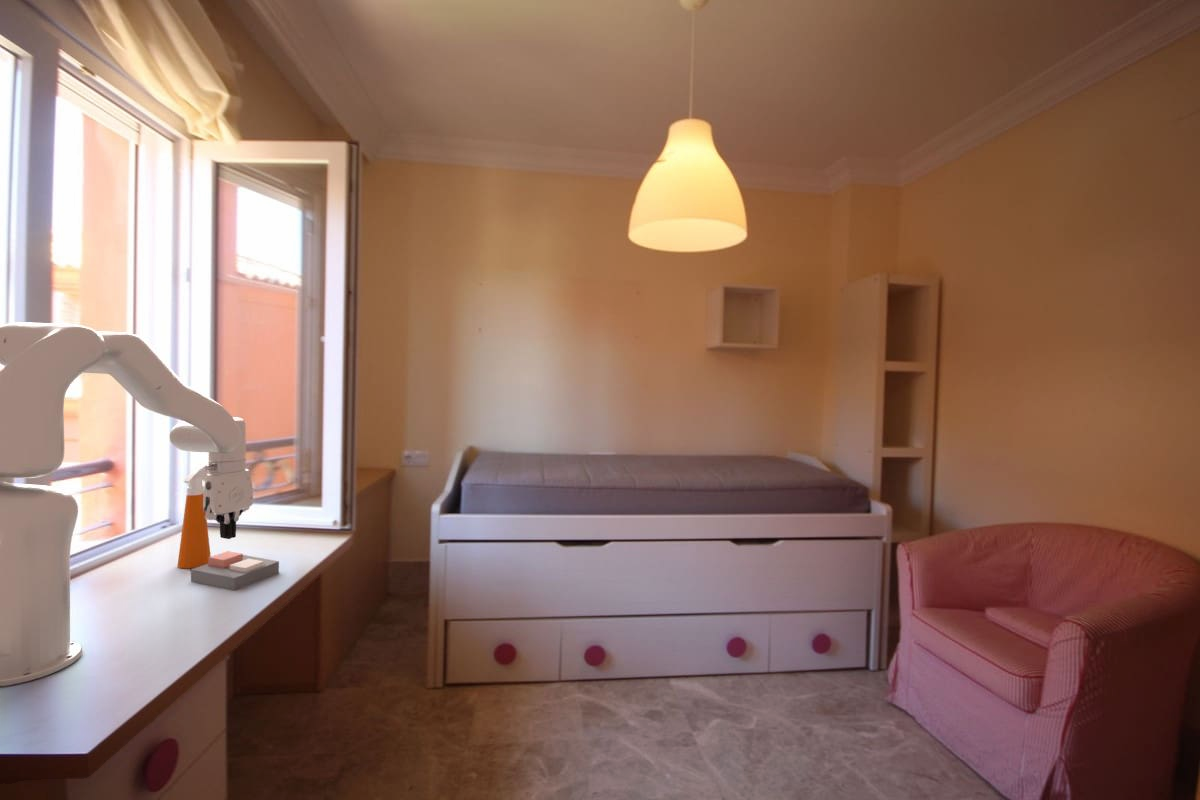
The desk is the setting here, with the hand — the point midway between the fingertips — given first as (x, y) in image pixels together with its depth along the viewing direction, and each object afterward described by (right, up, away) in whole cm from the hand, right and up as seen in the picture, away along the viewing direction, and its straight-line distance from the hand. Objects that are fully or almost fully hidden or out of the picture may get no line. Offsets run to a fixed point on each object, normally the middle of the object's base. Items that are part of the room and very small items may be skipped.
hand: (228, 537), depth 131 cm
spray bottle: (-13, -9, +8) cm, 18 cm away
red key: (0, -7, 0) cm, 7 cm away
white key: (+6, -8, -2) cm, 11 cm away
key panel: (+3, -10, -1) cm, 10 cm away
